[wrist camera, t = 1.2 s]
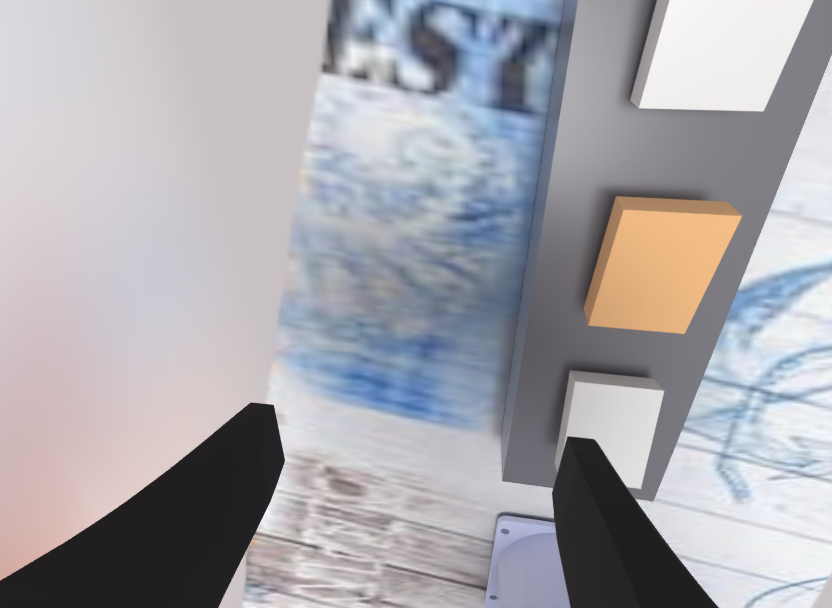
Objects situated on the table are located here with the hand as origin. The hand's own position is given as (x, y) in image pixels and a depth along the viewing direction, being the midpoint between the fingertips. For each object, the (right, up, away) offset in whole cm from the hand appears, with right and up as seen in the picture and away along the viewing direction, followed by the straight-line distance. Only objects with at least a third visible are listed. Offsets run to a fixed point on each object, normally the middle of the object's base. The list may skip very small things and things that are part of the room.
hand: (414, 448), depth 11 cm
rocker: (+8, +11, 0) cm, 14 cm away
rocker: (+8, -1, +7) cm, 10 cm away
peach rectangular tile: (+8, +5, +3) cm, 10 cm away
